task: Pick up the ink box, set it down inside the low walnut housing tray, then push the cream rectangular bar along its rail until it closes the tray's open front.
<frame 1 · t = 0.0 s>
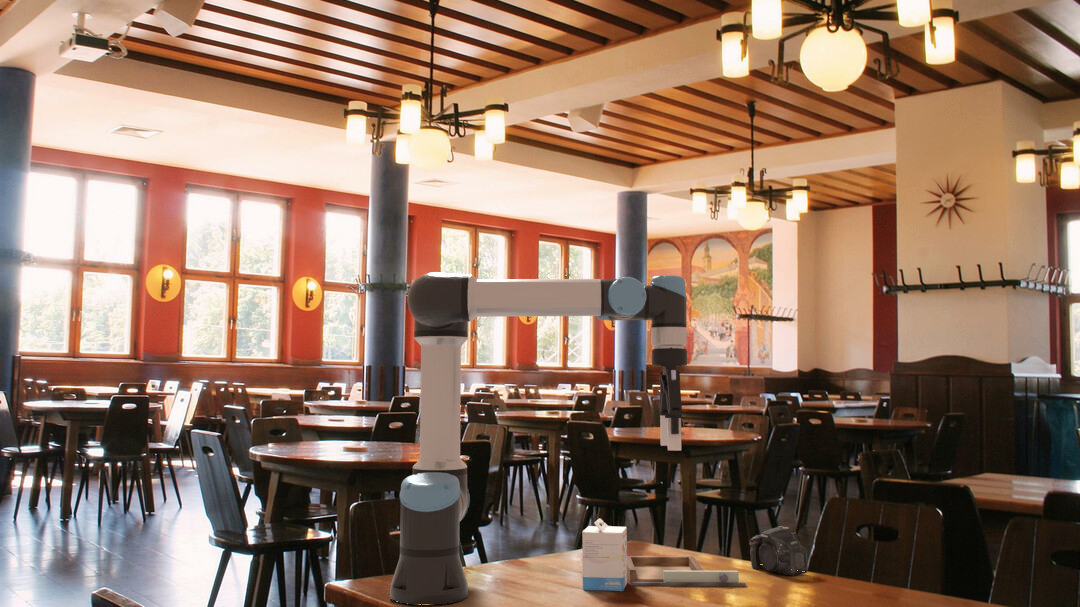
hand: (670, 448, 189), 28 cm above the table, fingers open, 13 cm apart
ink box: (605, 587, 184), on the table
camera: (778, 572, 198), on the table
housing: (663, 575, 193), on the table
cream rectangular bar: (701, 578, 185), point 1 cm above the table, slide at 7.0 cm
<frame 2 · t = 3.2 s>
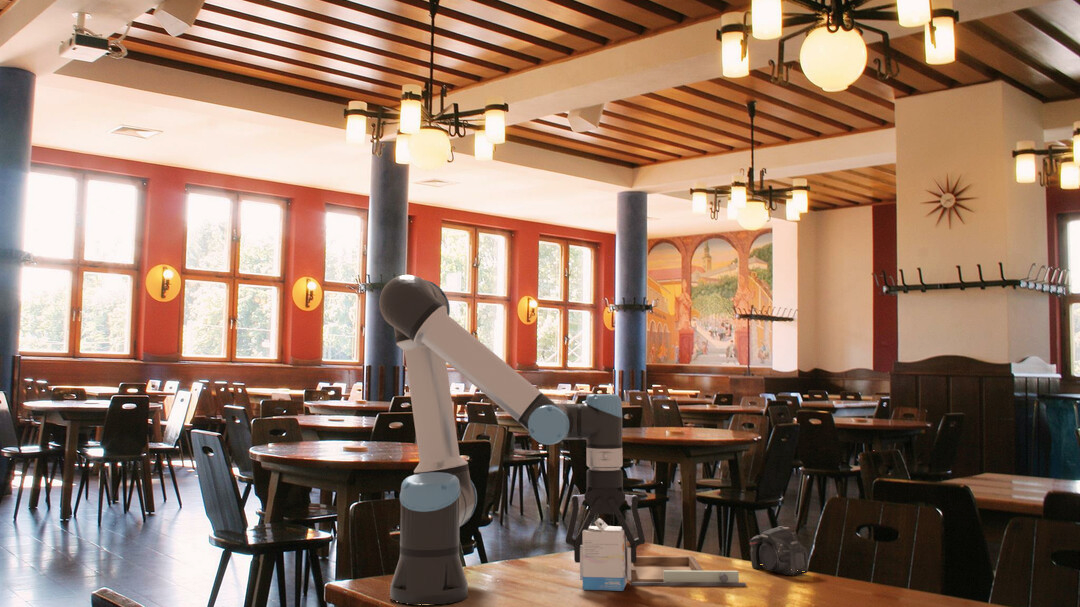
hand: (605, 578, 184), 2 cm above the table, fingers closed on ink box, 9 cm apart
ink box: (605, 587, 184), on the table, touching gripper
everything else where it was.
when the fingers open (4 cm above the table, at t = 8.7 s): ink box drops 2 cm, resting on housing.
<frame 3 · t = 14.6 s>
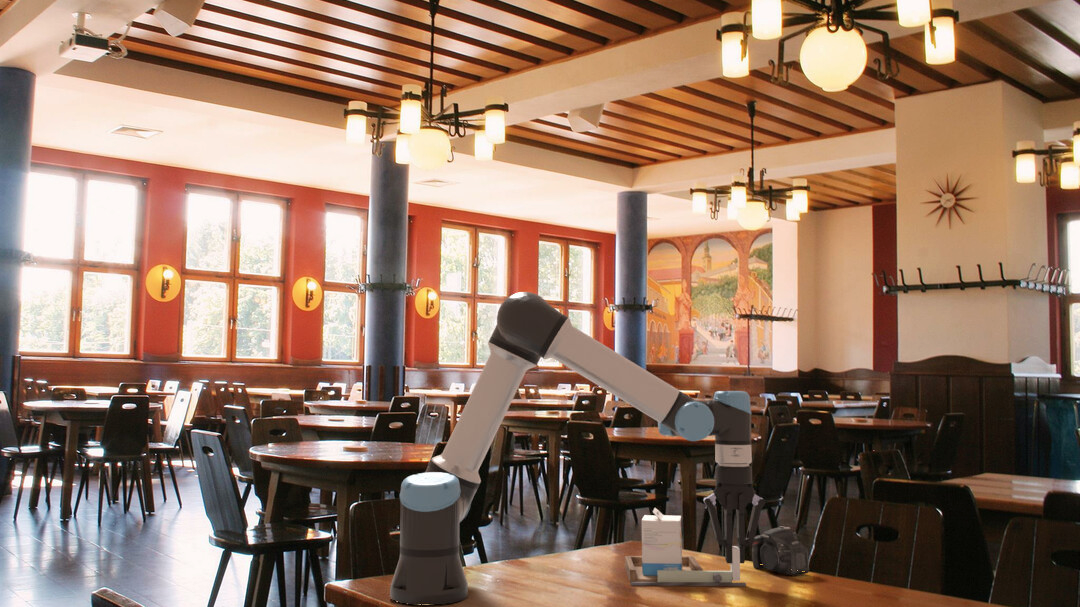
hand: (735, 579, 185), 1 cm above the table, fingers closed
ink box: (662, 573, 193), point 1 cm above the table, touching housing
cream rectangular bar: (695, 578, 185), point 1 cm above the table, slide at 5.7 cm, touching gripper
everything else where it was.
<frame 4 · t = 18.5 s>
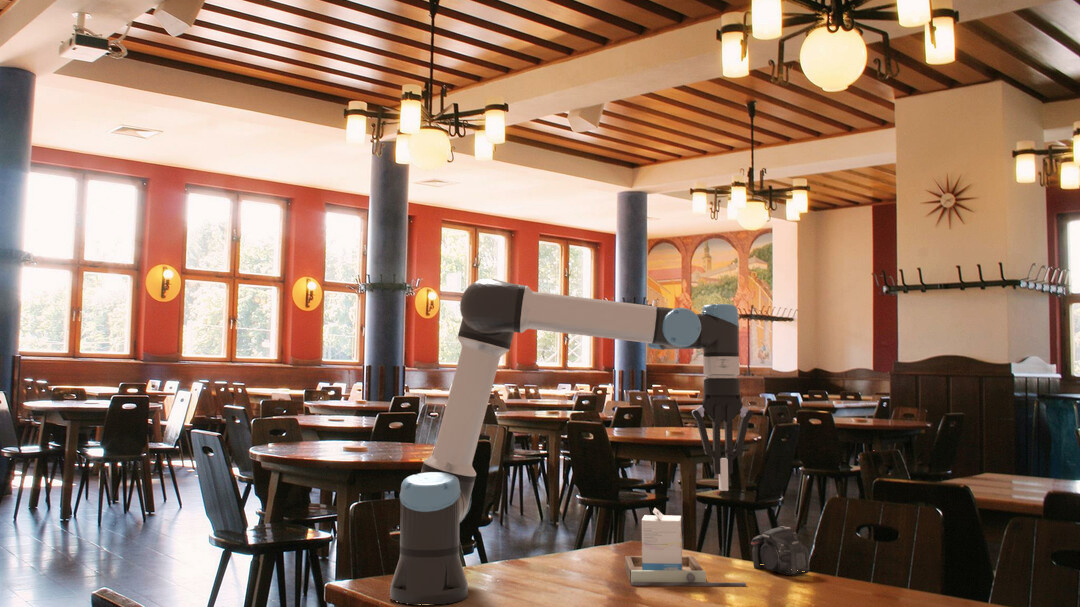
hand: (723, 489, 187), 19 cm above the table, fingers closed
cream rectangular bar: (668, 577, 185), point 1 cm above the table, slide at 0.2 cm
everything else where it was.
at the end: ink box inside the target area on the housing (0.1 cm from its centre), point 0.6 cm above the housing's base; ink box tilted 0°; cream rectangular bar slide at 0.2 cm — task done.
